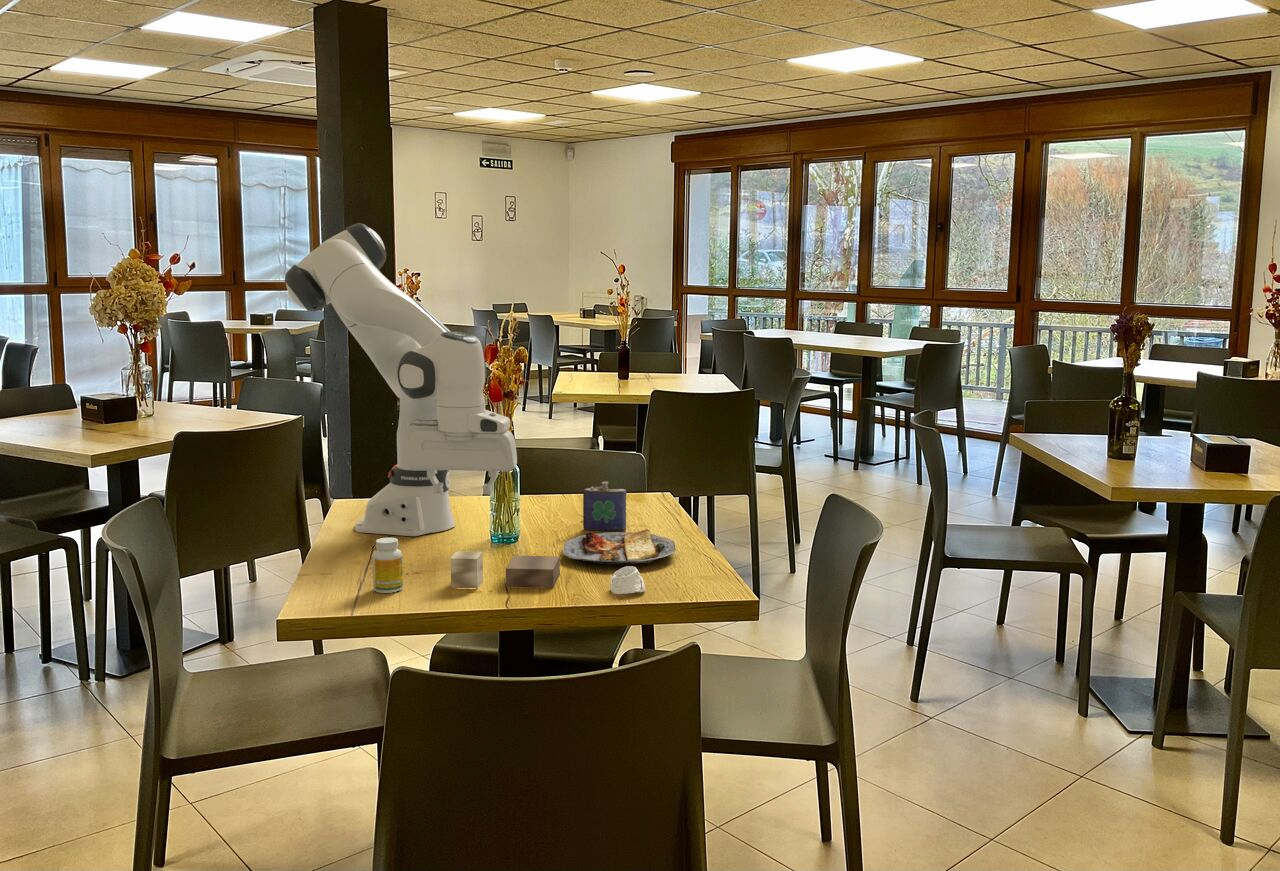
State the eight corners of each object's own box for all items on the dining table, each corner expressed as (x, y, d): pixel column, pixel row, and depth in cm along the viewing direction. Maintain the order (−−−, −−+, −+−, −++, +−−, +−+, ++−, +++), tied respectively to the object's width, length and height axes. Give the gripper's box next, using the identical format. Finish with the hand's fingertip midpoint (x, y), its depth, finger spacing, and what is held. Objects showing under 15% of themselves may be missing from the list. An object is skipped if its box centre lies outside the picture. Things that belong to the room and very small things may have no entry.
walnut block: (506, 588, 201) (505, 568, 200) (514, 575, 210) (514, 555, 209) (553, 590, 200) (553, 569, 200) (559, 576, 209) (559, 556, 208)
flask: (626, 529, 245) (626, 480, 243) (625, 532, 242) (625, 483, 240) (583, 528, 245) (583, 479, 244) (582, 532, 242) (582, 482, 240)
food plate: (567, 540, 236) (567, 524, 235) (672, 540, 236) (672, 525, 236) (560, 572, 211) (560, 555, 211) (677, 573, 212) (677, 555, 211)
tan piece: (451, 589, 199) (450, 558, 198) (457, 581, 204) (456, 551, 203) (477, 589, 199) (476, 558, 198) (483, 582, 204) (482, 551, 203)
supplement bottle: (369, 588, 199) (368, 538, 198) (397, 584, 202) (395, 534, 201) (379, 595, 195) (377, 545, 193) (407, 591, 198) (405, 541, 196)
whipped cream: (648, 601, 196) (651, 576, 195) (613, 600, 195) (616, 575, 194) (640, 585, 204) (643, 561, 203) (605, 584, 202) (608, 560, 201)
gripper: (401, 421, 195) (403, 495, 197) (511, 423, 193) (512, 498, 195) (411, 416, 201) (413, 488, 203) (518, 419, 199) (519, 491, 201)
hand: (462, 493), depth 199 cm, fingers open, 8 cm apart
